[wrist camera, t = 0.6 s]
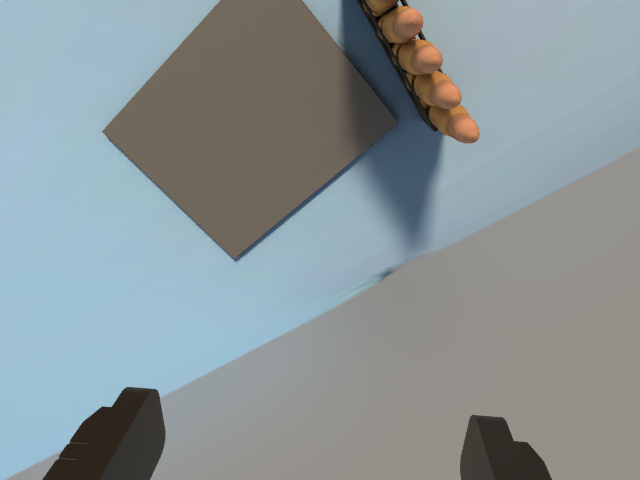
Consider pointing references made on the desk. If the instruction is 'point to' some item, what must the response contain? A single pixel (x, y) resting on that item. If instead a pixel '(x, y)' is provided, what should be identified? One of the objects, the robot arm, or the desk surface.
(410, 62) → the ammunition clip
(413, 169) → the desk surface
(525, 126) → the desk surface
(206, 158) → the mat
